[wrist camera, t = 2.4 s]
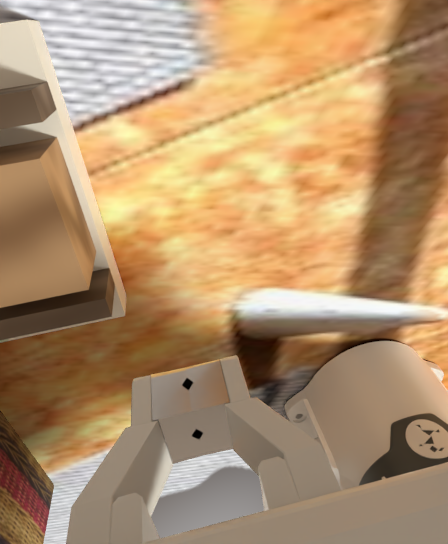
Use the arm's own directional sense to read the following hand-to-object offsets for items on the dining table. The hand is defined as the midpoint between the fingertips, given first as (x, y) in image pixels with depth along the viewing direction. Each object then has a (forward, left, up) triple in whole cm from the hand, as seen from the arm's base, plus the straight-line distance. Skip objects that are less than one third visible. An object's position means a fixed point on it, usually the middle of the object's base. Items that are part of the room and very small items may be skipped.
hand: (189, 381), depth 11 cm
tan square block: (0, +10, -18) cm, 20 cm away
